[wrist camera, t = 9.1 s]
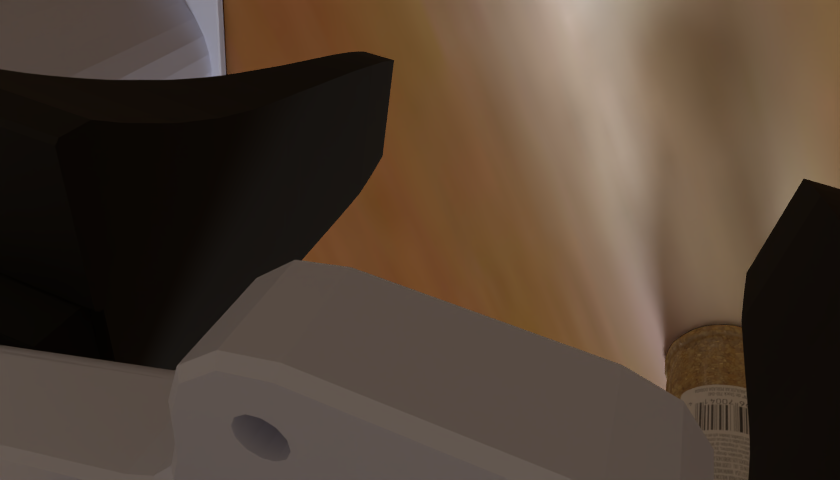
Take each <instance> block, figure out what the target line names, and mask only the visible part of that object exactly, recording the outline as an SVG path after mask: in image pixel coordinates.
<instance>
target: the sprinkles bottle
mask: <svg viewBox="0 0 840 480" xmlns="http://www.w3.org/2000/svg"><path fill="white" fill-rule="evenodd" d="M665 375H666V378H667V383H666V391H667V392H669V393H670V394H672V395H674V396H675V397H677V398H679V399H681V400H682V401H684V402H685V404H686V406H687V407H688V409H689V410H690V412H691V414H692V415H693V417H694V418H695V420H696V422H697V423H698V425H699V426H700V428H701V430H702V431H703V433H704V434H705V436H706V438H707V439H708V441H709V442H710V444H711V446H712V447H713V449H714V480H748V477H749V460H750V438H749V418H748V405H747V392H746V379H745V366H744V352H743V337H742V327H738V326H734V325H710V326H705V327H700V328H697V329H694V330H692V331H690V332H688V333H687V334H685V335H683V336H681V337H680V338H679V339H677V340H676V341H674V342H673V344H672V345H671V347H670V349H669V351H668V353H667V356H666V359H665Z"/></svg>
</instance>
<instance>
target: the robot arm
mask: <svg viewBox="0 0 840 480" xmlns="http://www.w3.org/2000/svg"><path fill="white" fill-rule="evenodd" d="M393 63H394V60H391V59H388V58H384V57H381V56H377V55H374V54H370V53H367V52H348V53H342V54H336V55H331V56H325V57H321V58H316V59H311V60H306V61H302V62H297V63H292V64H287V65H282V66H277V67H271V68H266V69H260V70H254V71H248V72H242V73H236V74H230V75H226V62H225V41H224V21H223V1H222V0H0V480H714V449H713V447H712V446H711V444H710V442H709V441H708V439H707V438H706V436H705V434H704V433H703V431H702V430H701V428H700V426H699V425H698V423H697V422H696V420H695V418H694V417H693V415H692V414H691V412H690V410H689V409H688V407H687V406H686V404H685V402H684V401H682V400H681V399H679V398H677V397H675V396H674V395H672V394H670V393H669V392H667V391H665V390H664V389H662V388H660V387H659V386H657V385H655V384H653V383H652V382H650V381H648V380H647V379H645V378H643V377H642V376H640V375H638V374H637V373H635V372H633V371H631V370H630V369H628V368H626V367H625V366H623V365H621V364H618V363H615V362H612V361H610V360H607V359H604V358H601V357H598V356H596V355H593V354H590V353H587V352H585V351H582V350H579V349H576V348H573V347H571V346H568V345H565V344H562V343H560V342H557V341H554V340H551V339H548V338H546V337H543V336H540V335H537V334H535V333H532V332H529V331H526V330H524V329H521V328H518V327H515V326H512V325H510V324H507V323H504V322H501V321H499V320H496V319H493V318H490V317H487V316H485V315H482V314H479V313H476V312H474V311H471V310H468V309H465V308H462V307H460V306H457V305H454V304H451V303H449V302H446V301H443V300H440V299H437V298H435V297H432V296H429V295H426V294H424V293H421V292H418V291H415V290H412V289H410V288H407V287H404V286H401V285H399V284H396V283H393V282H390V281H387V280H385V279H382V278H379V277H376V276H374V275H371V274H368V273H365V272H363V271H360V270H357V269H354V268H351V267H344V266H337V265H330V264H322V263H315V262H308V261H301V260H302V259H303V258H304V257H305V256H306V255H307V253H308V252H309V251H310V250H311V249H312V248H313V247H314V245H315V244H316V243H317V242H318V241H319V240H320V239H321V237H322V236H323V235H324V234H325V233H326V232H327V231H328V229H329V228H330V227H331V226H332V225H333V224H334V223H335V221H336V220H337V219H338V218H339V217H340V216H341V215H342V213H343V212H344V211H345V210H346V209H347V208H348V206H349V205H350V204H351V203H352V202H353V200H354V199H355V198H356V197H357V196H358V194H359V193H360V192H361V190H362V189H363V187H364V186H365V184H366V183H367V181H368V179H369V178H370V176H371V175H372V173H373V171H374V170H375V168H376V166H377V164H378V163H379V161H380V159H381V158H382V155H383V147H384V138H385V130H386V122H387V113H388V105H389V97H390V88H391V80H392V72H393ZM742 337H743V352H744V366H745V379H746V392H747V405H748V418H749V438H750V460H749V477H748V480H840V189H838V188H834V187H831V186H827V185H824V184H820V183H817V182H814V181H810V180H807V179H803V181H802V182H801V184H800V186H799V187H798V189H797V191H796V192H795V194H794V196H793V197H792V199H791V201H790V202H789V204H788V206H787V207H786V209H785V211H784V212H783V214H782V216H781V217H780V219H779V220H778V222H777V224H776V225H775V227H774V229H773V230H772V232H771V234H770V235H769V237H768V239H767V240H766V242H765V244H764V245H763V247H762V249H761V250H760V252H759V254H758V255H757V257H756V259H755V260H754V262H753V264H752V265H751V267H750V268H749V270H748V272H747V274H746V283H745V291H744V299H743V310H742Z"/></svg>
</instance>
